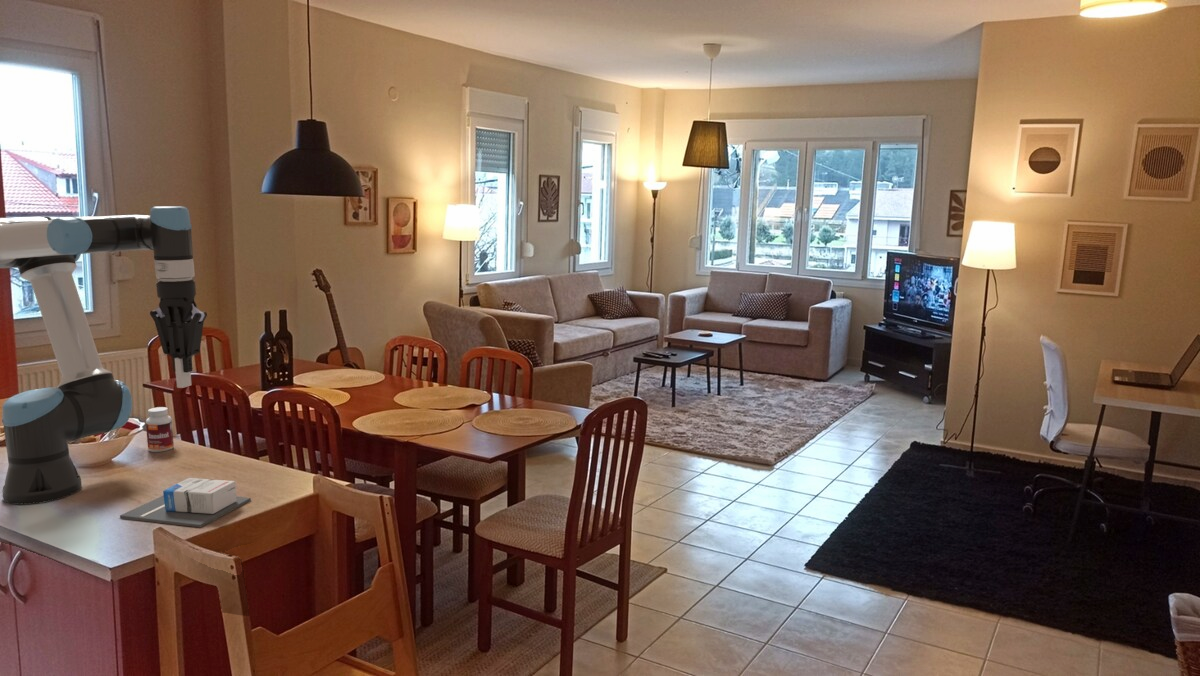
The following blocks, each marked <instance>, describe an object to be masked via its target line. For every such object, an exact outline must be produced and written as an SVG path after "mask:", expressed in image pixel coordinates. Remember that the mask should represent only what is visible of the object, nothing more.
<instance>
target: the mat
mask: <svg viewBox="0 0 1200 676" xmlns="http://www.w3.org/2000/svg"><path fill="white" fill-rule="evenodd" d="M236 499H237V501H236V502H234V503H232V504H231V505H229V506H227V507H225V508H223V509H221V510H220V511H218V512H216V513H214V514H206V513H191V512H174V511H166V510H165V503H164V495H163V494H162V495H161V496H159V497H158V498H155V499H153V500H150V501H149V502H146V503H143V504H141V505H140V506H138V507H136V508H133V509H131V510H129V511H126V512H125V513H121V514H120V515H119V519H124V520H134V521H141V522H142V521H143V522H149V523H160V524H167V525H175V526H183V527H192V528H202V527H204V526H206V525H207V524H210V523H211V522H213V521H215V520H217V519H219V518H221V517H222V516H224V515H227V514H228V513H230V512H232V511H234V510H236V509H237V508H240V507H242V506H244V505H245V504H247V503H248V502H251V500H252V499H251V497H245V496H244V497H243V496H237V495H236Z"/></svg>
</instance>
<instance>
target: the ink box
mask: <svg viewBox="0 0 1200 676" xmlns="http://www.w3.org/2000/svg"><path fill="white" fill-rule="evenodd" d="M162 492H163V493H162V496H163V495H164V503H165V510H166V511H174V512H191V513H206V514H214V513H216V512H218V511H220V510H221V509H223V508H225V507H227V506H229V505H231V504H232V503H234V502H236V501H237V499H236V496H237V484H236V481H235V480H224V479H212V478H211V479H210V478H208V479H207V478H195V477H187V478H186V479H184V480H182V481H179V482H178V483H176V484H174V485H172V486H171V487H168V488H166V489H164V490H163V491H162Z"/></svg>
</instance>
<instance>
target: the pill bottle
mask: <svg viewBox="0 0 1200 676" xmlns="http://www.w3.org/2000/svg"><path fill="white" fill-rule="evenodd" d="M147 413H148V416H149V417H148V418H147V419H145V428H146V439H147V440H146V441H147V442H146V443H147V450H148V451H149V452H152V453H162V452H167V451H170V450H172V449H174V445H175V443H174V431H173V430H174V429H173V422H172V421H173V419H172V417H171V416H170V415H168V414H169V409H168V407H165V406H157V407H153V408H149V409H148V410H147Z"/></svg>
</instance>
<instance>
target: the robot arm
mask: <svg viewBox="0 0 1200 676" xmlns="http://www.w3.org/2000/svg"><path fill="white" fill-rule="evenodd" d="M190 217H191V216H190V210H189V208H187V207H186V206H181V205H180V206H179V205H178V206H173V205H171V206H169V205H168V206H163V205H162V206H152V207H151V208H150V212H149V215H147V214H146V215H145V214H137V213H131V214H130V213H128V214H124V215H122V214H121V215H120V214H119V215H102V216H98V215H96V216H94V215H93V216H91V215H90V216H76V215H75V216H62V217H58V216H47V215H38V216H22V217H21V216H19V217H16V216H15V217H14V216H13V217H0V269H12V268H17V269H18V271H19V274H20V277H21V279H23V280H25V281H27V282H29V283H30V284H31V287H32V290H33V292H34V296H35V299H36V302H37V305H38V308H39V312H40V313H41V317H42V320H43V323H44V326H45V330H46V333H47V337H48V339H49V342H50V345H51V347H52V351H53V354H54V357H55V359H56V363H57V365H58V369H59V372H60V374H61V380H60V382H59V383H58V385H57V387H51V386H50V387H49V386H48V387H42V388H38V389H37V388H36V389H35V388H34V389H29V390H25V391H23V392H20V393H17V394H14V395H12V396H11V397H9V398H7V399H6V400H5V401H4V403H3V404H2V409H1V410H2V412H1V413H2V419H1V423H2V425H3V432H4V438H5V445H6V446H5V448H6V454H7V461H8V464H7V465H8V467H7V472H6V476H5V480H4V485H3V487H2V490H1V491H2V500H3V501H4V502H5V503H8V504H13V505H31V504H40V503H47V502H52V501H57V500H60V499H62V498H67V497H70V496H71V495H74V494H77V492H79V491H80V490H81V489H82V488H83V485H82V478H81V477H82V476H81V475H80V474H79V472H78V470H77V468H76V465H75V464H74V462H73V460H72V458H71V456H70V450H69V442H72V441H76V440H80V439H81V440H82V439H84V438H88V437H92V436H96V435H100V434H107V433H109V432H111V431H114V430H117V429H120V428H123V426H125V425H126V423H128V421H129V420H130V417H131V414H132V411H133V398H132V392H131V391H130V389H129V386H127V385H126V383H125V382H123V381H122V380H119V379H118V380H117V379H115V378H114V374H113V372H112V371H110V370H108V369H106V368H104V367H103V364H102V361H101V359H100V355H99V353H98V349H97V346H96V344H95V340H94V338H93V337H94V336H93V334H92V332H91V329H90V325H89V322H88V319H87V316H86V313H85V310H84V307H83V304H82V302H81V297H80V294H79V292H78V289H77V286H76V283H75V280H74V276H73V273H74V271H75V270H76V269H77V261H78V260H80V257H81V255H85V254H87V255H88V254H96V253H98V254H99V253H113V252H128V251H129V252H130V251H152V252H153V260H154V270H155V277H156V279H157V281H156V282H155V283H156V284H155V285H156V297H157V298H159V303H158V307H157V308H156V309H154V310H150V312H149V315H150V317H151V319H153V321H154V324H155V328H156V331H157V334H158V338H159V341H160V346H161V349H162V352H163V354H164V355H168V356H170V357H171V358H172V359H171V360H172V361H171V362H172V369H173V372H174V373H175V379H176V381H175V382H176V388H178V389H184V388H187V387H190V386H193V385H192V375H191V372H193V369H194V368H193V356H195V355H199V354H200V351H201V346H202V345H201V344H202V338H203V330H204V324H205V323H204V322H205V320H206V319H207V316H208V314H207V312H206V311H201V310H200V309H199V308H197V306H198V305H197V303H196V301H195V297H196V295H197V288H196V280H194V279H193V278H194V277H195V276H196V274H195V263H194V250H193V236H192V235H193V234H192V227H193V225H192V223H191V218H190ZM158 279H159V280H158Z"/></svg>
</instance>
